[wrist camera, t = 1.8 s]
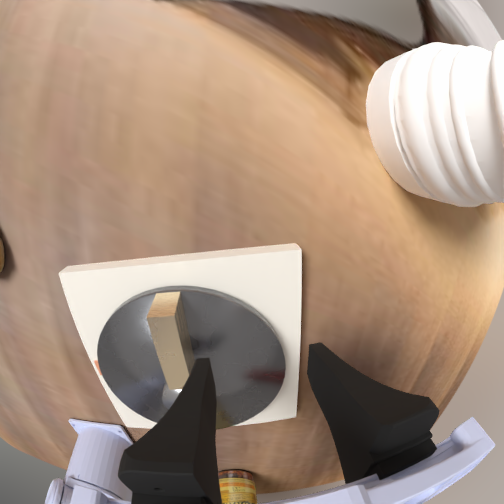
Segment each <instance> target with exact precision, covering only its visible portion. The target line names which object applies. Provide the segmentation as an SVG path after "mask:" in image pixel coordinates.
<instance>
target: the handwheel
mask: <svg viewBox="0 0 504 504" xmlns="http://www.w3.org/2000/svg"><path fill="white" fill-rule="evenodd" d="M97 358H98V364H99V368H100V371H101V373H102V376H103V378H104V380H105V382H106V383H107V385H108V387H109V388H110V389H111V391H112V392H113V393H114V394H115V396H116V397H117V398H118V399H119V400H120V401H121V402H122V403H124V404H125V405H126V406H127V407H128V408H130V409H131V410H133V411H134V412H136V413H137V414H139V415H141V416H143V417H144V418H146V419H149V420H151V421H153V422H156V423H158V421H159V420H160V419H161V418H162V417H163V416H164V415H165V413H166V412H167V411H168V410H169V408H170V407H171V406H172V404H173V403H174V401H175V400H176V398H177V397H178V395H179V393H180V392H181V390H182V388H183V386H184V385H185V383H186V381H187V379H188V377H189V375H190V373H191V370H192V368H193V365H194V363H195V360H196V359H198V358H210V363H211V368H212V372H213V377H214V382H215V387H216V400H217V409H216V429H222V428H227V427H230V426H234V425H237V424H240V423H242V422H245V421H247V420H249V419H251V418H252V417H254V416H256V415H257V414H259V413H260V412H262V411H263V410H264V409H265V408H266V407H267V406H268V405H269V404H270V403H271V402H272V401H273V400H274V399H275V397H276V396H277V394H278V393H279V391H280V389H281V387H282V385H283V381H284V378H285V370H286V364H285V356H284V353H283V349H282V346H281V343H280V341H279V339H278V337H277V334H276V332H275V331H274V329H273V328H272V326H271V325H270V324H269V322H268V321H267V320H266V319H265V318H264V317H263V316H262V315H261V314H260V313H259V312H257V311H256V310H255V309H254V308H252V307H251V306H249V305H248V304H246V303H244V302H243V301H241V300H239V299H237V298H235V297H233V296H231V295H228V294H226V293H222V292H219V291H216V290H213V289H208V288H203V287H197V286H186V285H182V286H166V287H159V288H154V289H151V290H147V291H144V292H142V293H140V294H137V295H135V296H133V297H131V298H130V299H128V300H127V301H125V302H123V303H122V304H121V305H120V306H119V307H118V308H117V309H116V310H115V311H114V312H113V313H112V315H111V316H110V317H109V319H108V320H107V322H106V324H105V326H104V328H103V329H102V331H101V333H100V337H99V340H98V346H97Z"/></svg>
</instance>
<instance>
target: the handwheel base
mask: <svg viewBox="0 0 504 504" xmlns="http://www.w3.org/2000/svg"><path fill="white" fill-rule="evenodd" d="M59 276H60V280H61V283H62V286H63V290H64V293H65V296H66V299H67V302H68V305H69V308H70V311H71V313H72V316H73V319H74V322H75V324H76V327H77V329H78V332H79V335H80V337H81V339H82V342H83V344H84V347H85V349H86V351H87V353H88V356H89V358H90V360H91V362H92V364H93V367H94V369H95V371H96V373H97V375H98V377H99V379H100V381H101V383H102V385H103V387H104V389H105V390H106V392H107V394H108V396H109V398H110V400H111V401H112V403H113V405H114V407H115V408H116V410H117V412H118V414H119V415H120V417H121V419H122V420H123V422H124V423H125V425H126V427H134V428H153V427H154V426H155V425H156V424H157V423H156V422H153V421H151V420H149V419H146V418H144V417H143V416H141V415H139V414H137V413H136V412H134V411H133V410H131V409H130V408H128V407H127V406H126V405H125V404H124V403H122V402H121V401H120V400H119V399H118V398H117V397H116V396H115V394H114V393H113V392H112V391H111V389H110V388H109V387H108V385H107V383H106V382H105V380H104V378H103V376H102V373H101V371H100V368H99V364H98V358H97V346H98V340H99V337H100V333H101V331H102V329H103V328H104V326H105V324H106V322H107V320H108V319H109V317H110V316H111V315H112V313H113V312H114V311H115V310H116V309H117V308H118V307H119V306H120V305H121V304H122V303H123V302H125V301H127V300H128V299H130V298H131V297H133V296H135V295H137V294H140V293H142V292H144V291H147V290H151V289H154V288H159V287H166V286H182V285H186V286H197V287H203V288H208V289H213V290H216V291H219V292H222V293H226V294H228V295H231V296H233V297H235V298H237V299H239V300H241V301H243V302H244V303H246V304H248V305H249V306H251V307H252V308H254V309H255V310H256V311H257V312H259V313H260V314H261V315H262V316H263V317H264V318H265V319H266V320H267V321H268V322H269V324H270V325H271V326H272V328H273V329H274V331H275V332H276V334H277V337H278V339H279V341H280V343H281V346H282V349H283V353H284V356H285V364H286V370H285V378H284V381H283V385H282V387H281V389H280V391H279V393H278V394H277V396H276V397H275V399H274V400H273V401H272V402H271V403H270V404H269V405H268V406H267V407H266V408H265V409H264V410H263V411H262V412H260V413H259V414H257V415H256V416H254V417H252V418H251V419H249V420H247V421H245V422H242V423H240V424H237V425H234V426H238V425H248V424H256V423H263V422H270V421H276V420H282V419H288V418H293V417H296V410H297V396H298V380H299V361H300V337H301V297H302V249H301V248H300V247H299V246H298V245H297V244H296V243H291V244H281V245H271V246H260V247H250V248H240V249H230V250H220V251H210V252H200V253H190V254H180V255H170V256H160V257H150V258H141V259H131V260H121V261H112V262H102V263H93V264H83V265H74V266H67V267H66V268H64V269H63V270H62V271H61V272H60V273H59Z"/></svg>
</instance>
